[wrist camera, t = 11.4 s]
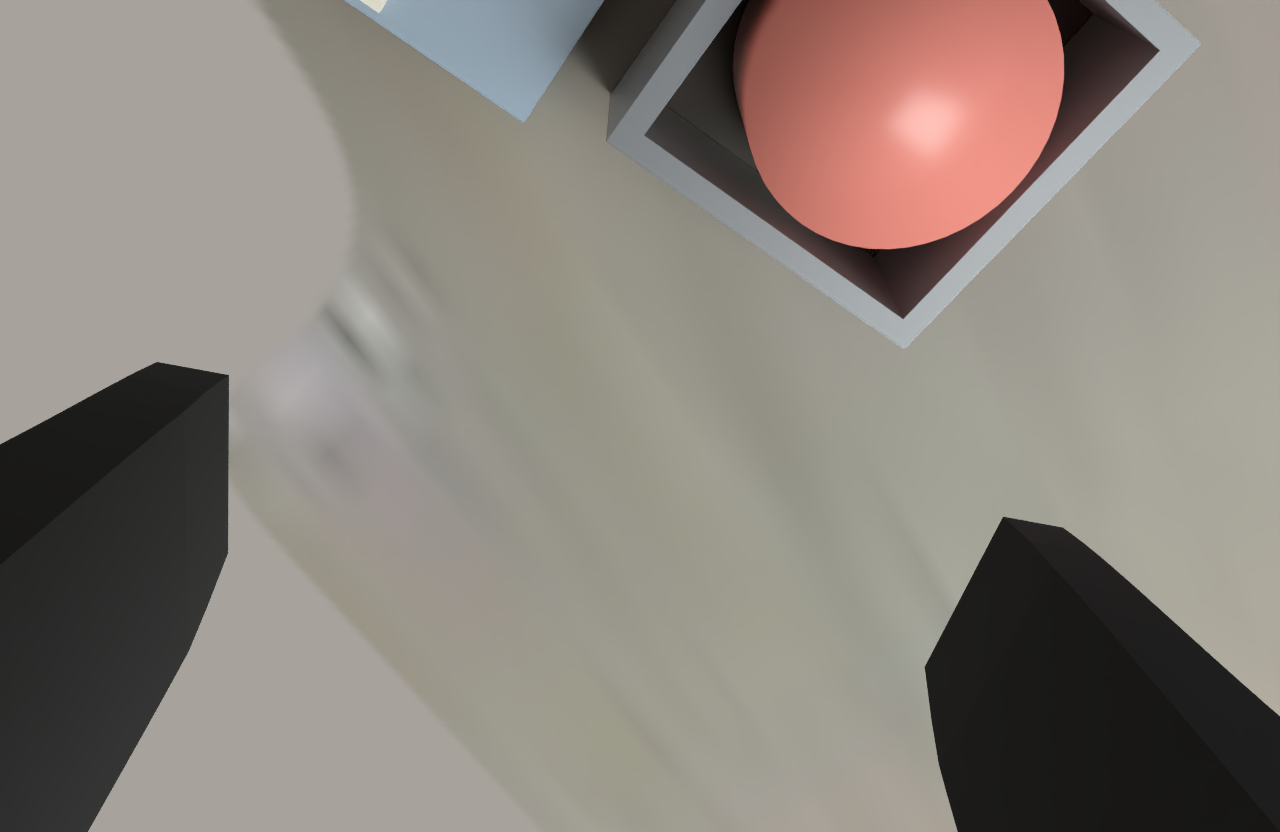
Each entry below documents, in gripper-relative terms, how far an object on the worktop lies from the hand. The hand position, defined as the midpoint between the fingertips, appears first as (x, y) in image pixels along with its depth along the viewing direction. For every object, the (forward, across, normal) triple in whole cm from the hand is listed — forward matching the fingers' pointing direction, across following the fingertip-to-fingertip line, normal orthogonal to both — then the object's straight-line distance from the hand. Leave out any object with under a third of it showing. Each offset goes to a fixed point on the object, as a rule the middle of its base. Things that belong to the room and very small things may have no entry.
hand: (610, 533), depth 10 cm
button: (+9, -3, -3) cm, 10 cm away
